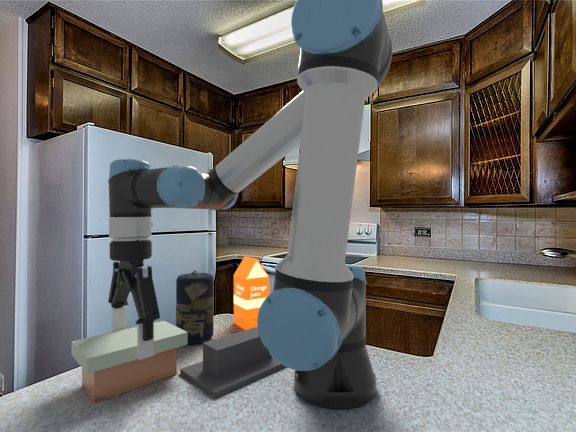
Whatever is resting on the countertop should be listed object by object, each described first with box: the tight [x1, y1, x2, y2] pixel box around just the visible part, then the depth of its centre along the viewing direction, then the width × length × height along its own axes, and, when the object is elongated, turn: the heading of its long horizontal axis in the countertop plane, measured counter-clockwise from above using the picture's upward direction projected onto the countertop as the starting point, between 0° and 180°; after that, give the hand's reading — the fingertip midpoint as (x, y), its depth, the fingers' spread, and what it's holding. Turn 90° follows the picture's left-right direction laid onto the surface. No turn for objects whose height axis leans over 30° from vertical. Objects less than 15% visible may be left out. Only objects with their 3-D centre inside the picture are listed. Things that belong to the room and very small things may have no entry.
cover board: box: [71, 320, 189, 374], centre depth 65 cm, size 11×18×2 cm, turn 135°
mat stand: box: [179, 327, 287, 399], centre depth 70 cm, size 13×20×6 cm, turn 135°
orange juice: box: [233, 256, 270, 331], centre depth 99 cm, size 8×9×20 cm
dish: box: [81, 347, 178, 404], centre depth 65 cm, size 8×15×6 cm, turn 135°
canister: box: [175, 270, 215, 344], centre depth 87 cm, size 10×10×18 cm
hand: (132, 347), depth 65 cm, fingers open, 13 cm apart
